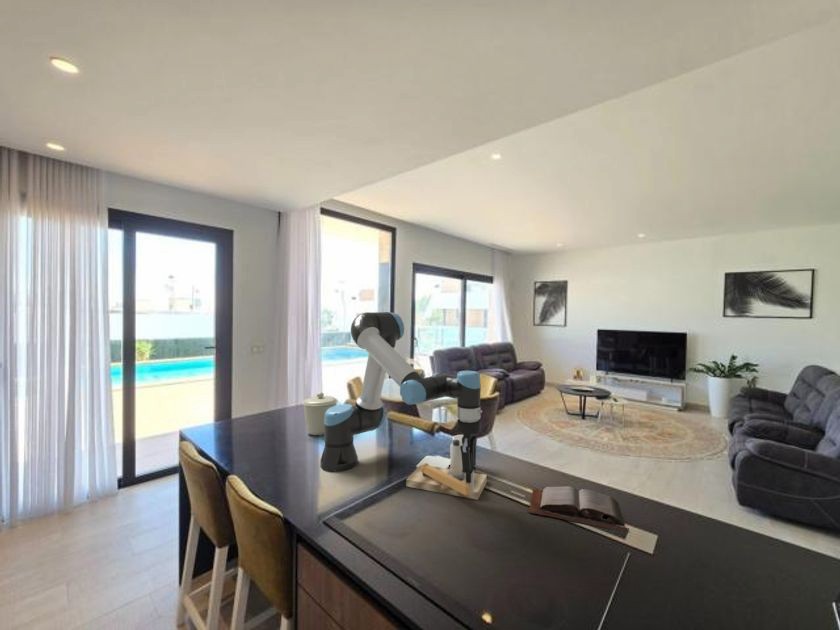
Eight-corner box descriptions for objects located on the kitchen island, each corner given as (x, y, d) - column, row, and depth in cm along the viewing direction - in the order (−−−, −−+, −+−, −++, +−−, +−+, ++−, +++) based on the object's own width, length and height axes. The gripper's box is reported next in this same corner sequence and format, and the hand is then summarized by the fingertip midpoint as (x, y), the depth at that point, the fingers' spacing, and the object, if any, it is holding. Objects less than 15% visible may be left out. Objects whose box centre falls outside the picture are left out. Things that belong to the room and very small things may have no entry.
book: (631, 536, 103) (632, 520, 103) (528, 514, 113) (528, 499, 114) (622, 506, 122) (622, 492, 122) (533, 489, 132) (533, 477, 132)
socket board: (406, 486, 132) (406, 475, 132) (421, 470, 145) (420, 461, 145) (477, 499, 122) (477, 488, 122) (486, 481, 135) (486, 471, 135)
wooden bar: (419, 471, 135) (419, 464, 135) (425, 469, 137) (425, 462, 137) (465, 495, 117) (464, 487, 117) (470, 493, 119) (470, 485, 119)
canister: (333, 438, 184) (333, 396, 184) (297, 438, 184) (297, 396, 184) (341, 427, 202) (341, 388, 202) (308, 427, 202) (308, 388, 202)
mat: (416, 467, 148) (415, 466, 148) (426, 456, 159) (426, 455, 159) (444, 472, 144) (444, 470, 144) (453, 460, 155) (453, 459, 155)
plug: (445, 485, 133) (444, 442, 133) (450, 477, 139) (450, 436, 139) (462, 488, 130) (462, 444, 130) (467, 480, 136) (467, 438, 136)
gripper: (475, 426, 113) (476, 502, 113) (484, 414, 125) (485, 484, 125) (452, 423, 116) (452, 498, 116) (463, 412, 128) (463, 480, 128)
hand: (469, 490), depth 121 cm, fingers closed
